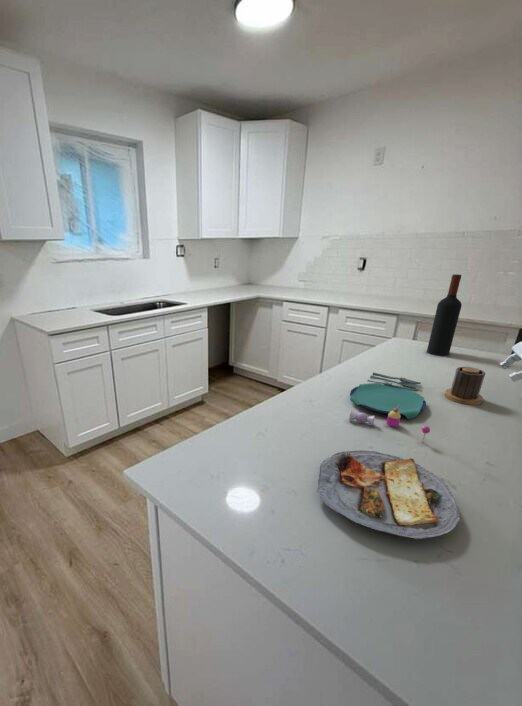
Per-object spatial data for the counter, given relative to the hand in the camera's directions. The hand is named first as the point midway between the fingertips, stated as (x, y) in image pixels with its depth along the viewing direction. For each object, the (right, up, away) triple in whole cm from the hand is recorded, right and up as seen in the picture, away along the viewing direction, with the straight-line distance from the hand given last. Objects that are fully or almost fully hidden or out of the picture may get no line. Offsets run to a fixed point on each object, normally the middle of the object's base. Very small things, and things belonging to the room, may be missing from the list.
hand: (506, 372), depth 101 cm
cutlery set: (-28, -7, +8) cm, 30 cm away
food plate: (-50, -25, -30) cm, 64 cm away
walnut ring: (-7, -6, +6) cm, 11 cm away
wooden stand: (-7, -7, +6) cm, 12 cm away
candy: (-37, -15, -8) cm, 41 cm away
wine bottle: (+10, +9, +43) cm, 46 cm away
